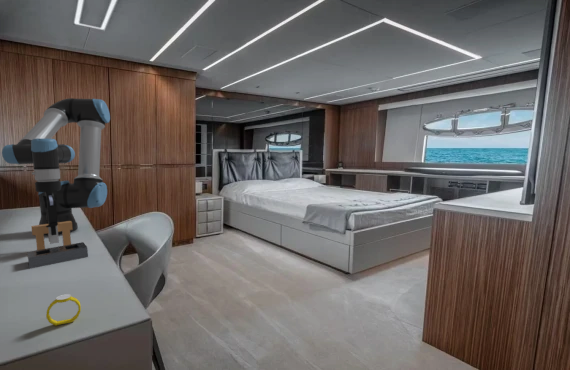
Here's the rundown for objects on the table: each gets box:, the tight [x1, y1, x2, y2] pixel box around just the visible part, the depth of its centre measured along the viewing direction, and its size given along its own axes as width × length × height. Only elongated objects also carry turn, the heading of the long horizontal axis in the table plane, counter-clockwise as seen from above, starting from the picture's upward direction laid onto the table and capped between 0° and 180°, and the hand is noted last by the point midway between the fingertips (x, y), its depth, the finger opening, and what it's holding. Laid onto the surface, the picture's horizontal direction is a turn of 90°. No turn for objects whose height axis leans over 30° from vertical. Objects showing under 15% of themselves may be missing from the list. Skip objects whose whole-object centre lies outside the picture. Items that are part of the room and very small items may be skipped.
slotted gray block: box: [27, 241, 89, 269], centre depth 106 cm, size 16×8×4 cm, turn 132°
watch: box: [45, 293, 82, 326], centre depth 66 cm, size 6×3×6 cm, turn 122°
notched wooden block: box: [30, 221, 73, 250], centre depth 116 cm, size 12×3×10 cm, turn 132°
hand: (53, 241), depth 116 cm, fingers closed on notched wooden block, 3 cm apart
